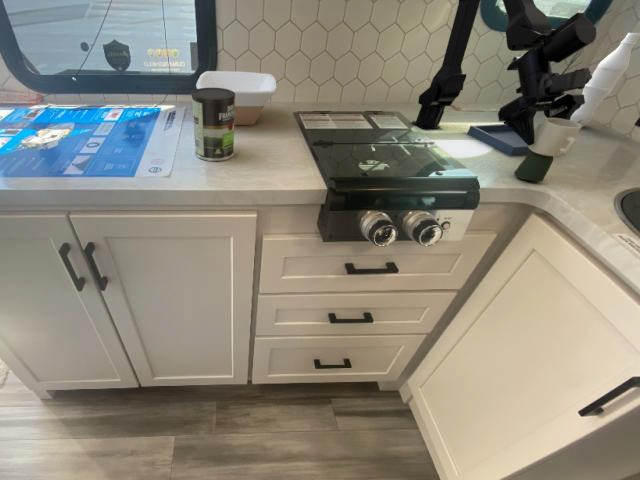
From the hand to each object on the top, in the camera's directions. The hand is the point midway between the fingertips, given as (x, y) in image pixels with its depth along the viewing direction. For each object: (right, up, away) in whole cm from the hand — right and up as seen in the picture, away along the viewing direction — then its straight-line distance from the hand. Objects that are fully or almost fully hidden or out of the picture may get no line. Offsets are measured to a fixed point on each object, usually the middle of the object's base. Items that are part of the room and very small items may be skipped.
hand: (546, 143), depth 80 cm
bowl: (-73, +22, +31) cm, 82 cm away
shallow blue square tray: (+10, +11, +23) cm, 28 cm away
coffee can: (-78, +2, +10) cm, 79 cm away
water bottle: (+43, +23, +38) cm, 62 cm away
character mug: (0, -6, +6) cm, 9 cm away
